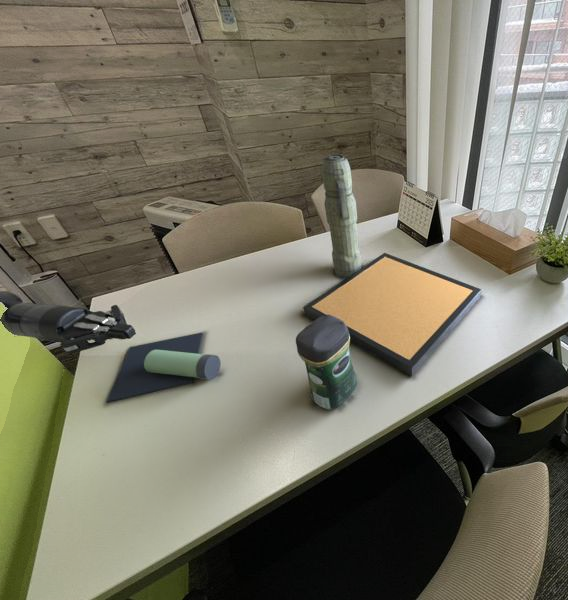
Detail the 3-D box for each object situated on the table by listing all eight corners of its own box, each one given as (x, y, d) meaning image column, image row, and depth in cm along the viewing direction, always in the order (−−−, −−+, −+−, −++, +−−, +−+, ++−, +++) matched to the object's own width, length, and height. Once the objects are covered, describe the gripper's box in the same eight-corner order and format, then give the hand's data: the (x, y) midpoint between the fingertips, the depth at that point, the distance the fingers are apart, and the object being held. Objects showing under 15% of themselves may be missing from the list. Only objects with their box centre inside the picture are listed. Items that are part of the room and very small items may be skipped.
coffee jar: (336, 368, 74) (323, 305, 62) (363, 383, 71) (355, 320, 59) (304, 398, 68) (284, 335, 56) (333, 417, 64) (317, 354, 53)
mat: (107, 403, 67) (106, 401, 67) (131, 348, 79) (129, 347, 78) (193, 382, 71) (192, 381, 70) (203, 333, 83) (202, 332, 82)
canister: (142, 375, 69) (203, 382, 68) (144, 351, 69) (205, 357, 68) (163, 369, 74) (220, 375, 73) (164, 347, 74) (221, 353, 73)
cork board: (411, 376, 72) (480, 297, 94) (412, 368, 70) (481, 289, 92) (304, 315, 88) (384, 259, 111) (302, 306, 87) (384, 252, 109)
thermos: (342, 283, 100) (325, 165, 78) (329, 265, 108) (311, 153, 86) (368, 275, 103) (359, 160, 81) (354, 258, 111) (342, 149, 89)
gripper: (11, 332, 60) (90, 342, 58) (77, 290, 71) (147, 298, 68) (39, 359, 65) (113, 370, 63) (97, 316, 75) (164, 324, 73)
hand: (131, 332), depth 65 cm, fingers closed
